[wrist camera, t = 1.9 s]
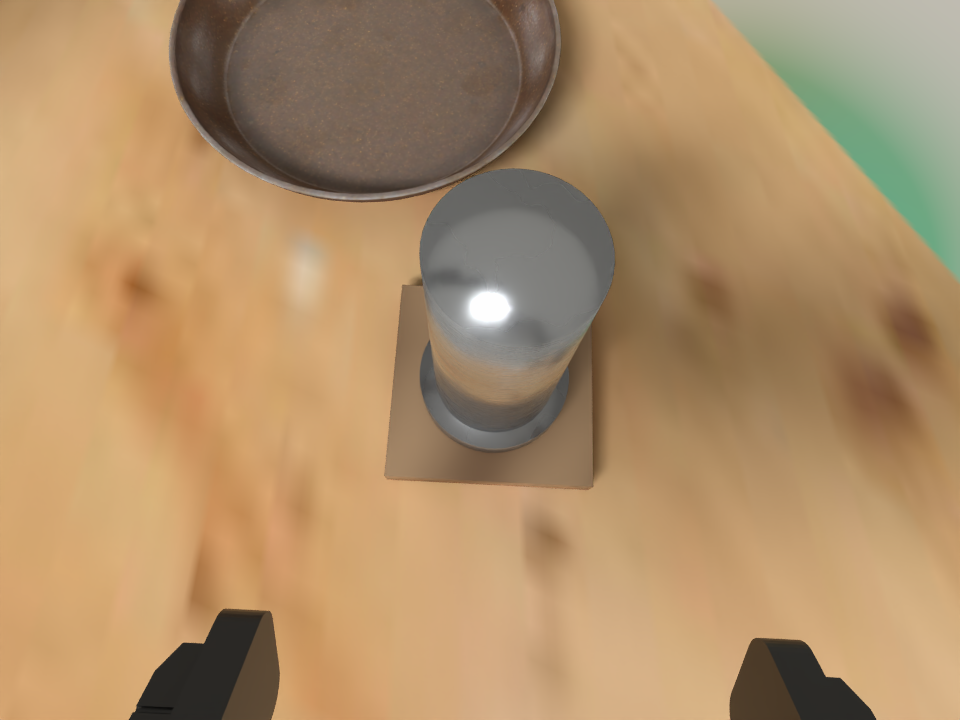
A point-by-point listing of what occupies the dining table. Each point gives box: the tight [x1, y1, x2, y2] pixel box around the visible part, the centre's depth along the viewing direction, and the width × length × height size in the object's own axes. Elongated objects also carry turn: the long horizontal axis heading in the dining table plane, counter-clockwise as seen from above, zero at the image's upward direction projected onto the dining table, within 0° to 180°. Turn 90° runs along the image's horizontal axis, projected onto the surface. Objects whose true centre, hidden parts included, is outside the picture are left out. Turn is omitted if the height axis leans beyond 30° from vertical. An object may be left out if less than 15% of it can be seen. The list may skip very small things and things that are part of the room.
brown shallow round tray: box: [169, 0, 561, 202], centre depth 30 cm, size 18×18×3 cm
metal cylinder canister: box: [419, 169, 615, 453], centre depth 20 cm, size 6×6×11 cm
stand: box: [384, 285, 593, 490], centre depth 26 cm, size 8×8×1 cm
